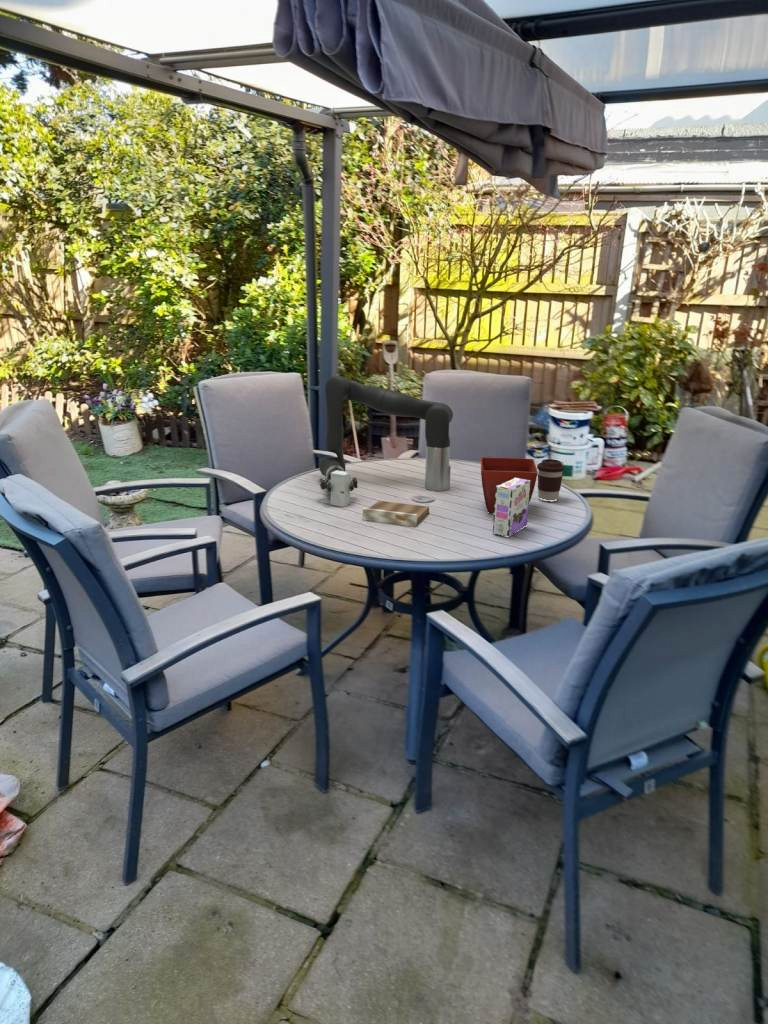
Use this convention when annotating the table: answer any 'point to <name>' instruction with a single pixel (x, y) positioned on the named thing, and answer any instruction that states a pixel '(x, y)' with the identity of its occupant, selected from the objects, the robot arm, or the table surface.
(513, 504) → the candy box
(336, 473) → the skincare box
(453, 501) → the table surface
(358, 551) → the table surface
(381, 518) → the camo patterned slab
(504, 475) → the plant pot
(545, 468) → the coffee cup
